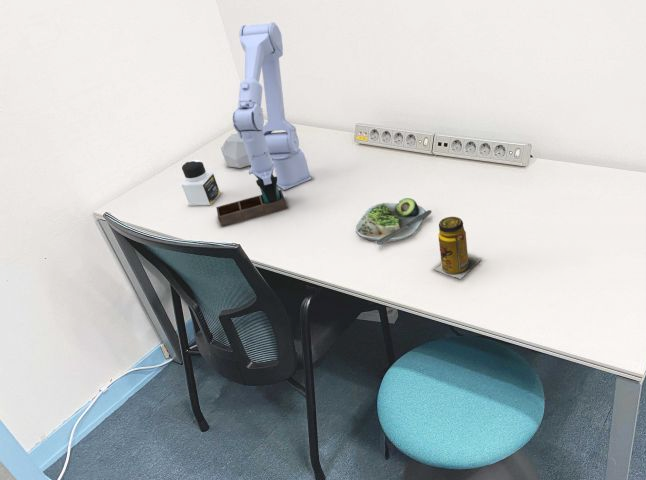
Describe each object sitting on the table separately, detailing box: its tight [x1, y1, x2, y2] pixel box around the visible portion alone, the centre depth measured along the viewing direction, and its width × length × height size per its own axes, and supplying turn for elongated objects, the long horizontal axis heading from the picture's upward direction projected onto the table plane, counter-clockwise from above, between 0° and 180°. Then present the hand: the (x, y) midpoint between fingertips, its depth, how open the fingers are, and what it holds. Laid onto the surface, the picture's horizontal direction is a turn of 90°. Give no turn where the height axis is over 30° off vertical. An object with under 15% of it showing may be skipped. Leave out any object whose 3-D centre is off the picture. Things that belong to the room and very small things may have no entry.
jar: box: [257, 174, 281, 204], centre depth 170 cm, size 5×5×8 cm
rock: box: [220, 132, 251, 169], centre depth 199 cm, size 18×20×10 cm
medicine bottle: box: [181, 159, 221, 207], centre depth 178 cm, size 7×7×12 cm
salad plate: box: [355, 197, 432, 246], centre depth 153 cm, size 19×18×5 cm
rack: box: [215, 189, 288, 228], centre depth 171 cm, size 19×7×3 cm, turn 108°
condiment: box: [433, 216, 482, 280], centre depth 135 cm, size 7×8×12 cm
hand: (271, 196), depth 171 cm, fingers closed on jar, 5 cm apart
